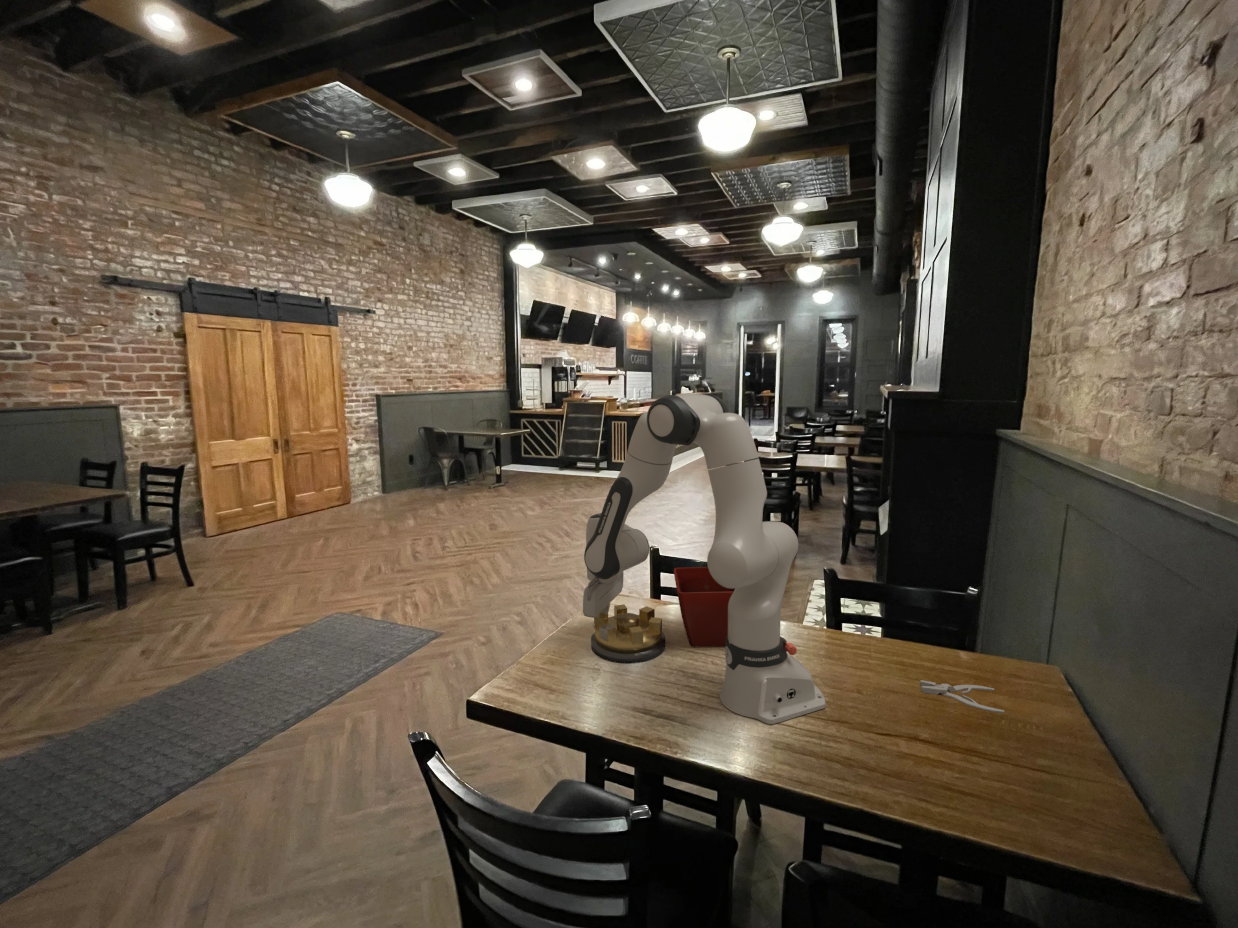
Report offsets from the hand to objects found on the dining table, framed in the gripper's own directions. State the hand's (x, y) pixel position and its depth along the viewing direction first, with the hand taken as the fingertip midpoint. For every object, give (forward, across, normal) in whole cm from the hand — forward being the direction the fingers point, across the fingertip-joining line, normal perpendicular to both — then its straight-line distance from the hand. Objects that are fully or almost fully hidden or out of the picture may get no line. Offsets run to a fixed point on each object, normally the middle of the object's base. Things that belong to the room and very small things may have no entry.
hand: (604, 619), depth 154 cm
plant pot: (+6, +10, -27) cm, 30 cm away
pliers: (+5, 0, -85) cm, 85 cm away
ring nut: (+3, -1, -7) cm, 8 cm away
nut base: (+6, -1, -8) cm, 9 cm away
